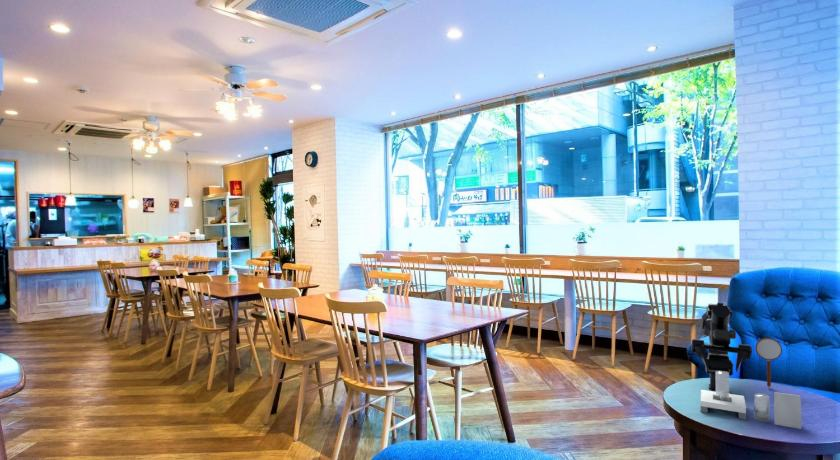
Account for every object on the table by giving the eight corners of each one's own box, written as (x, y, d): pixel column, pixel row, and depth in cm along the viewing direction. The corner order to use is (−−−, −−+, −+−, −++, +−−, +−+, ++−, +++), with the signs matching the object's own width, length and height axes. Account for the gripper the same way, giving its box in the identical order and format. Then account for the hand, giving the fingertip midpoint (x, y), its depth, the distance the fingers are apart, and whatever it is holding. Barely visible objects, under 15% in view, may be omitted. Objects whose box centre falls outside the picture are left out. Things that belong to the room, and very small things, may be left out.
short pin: (754, 416, 160) (753, 392, 160) (768, 418, 158) (768, 394, 158) (755, 420, 157) (754, 396, 157) (770, 422, 155) (769, 398, 155)
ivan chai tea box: (801, 429, 150) (801, 397, 150) (774, 424, 153) (774, 393, 153) (800, 425, 153) (799, 394, 153) (774, 420, 157) (773, 390, 156)
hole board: (701, 400, 176) (701, 389, 176) (743, 406, 169) (743, 395, 169) (700, 411, 164) (700, 400, 164) (746, 419, 158) (745, 407, 158)
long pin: (720, 406, 169) (720, 370, 169) (731, 410, 166) (731, 373, 166) (713, 408, 168) (712, 371, 168) (724, 412, 164) (724, 374, 164)
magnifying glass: (756, 387, 188) (755, 337, 188) (755, 386, 190) (754, 336, 190) (783, 390, 184) (782, 339, 184) (781, 389, 186) (781, 338, 186)
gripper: (692, 317, 180) (693, 354, 171) (751, 323, 171) (755, 361, 162) (691, 333, 187) (691, 369, 178) (748, 339, 178) (751, 377, 169)
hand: (721, 369), depth 171 cm, fingers open, 9 cm apart
